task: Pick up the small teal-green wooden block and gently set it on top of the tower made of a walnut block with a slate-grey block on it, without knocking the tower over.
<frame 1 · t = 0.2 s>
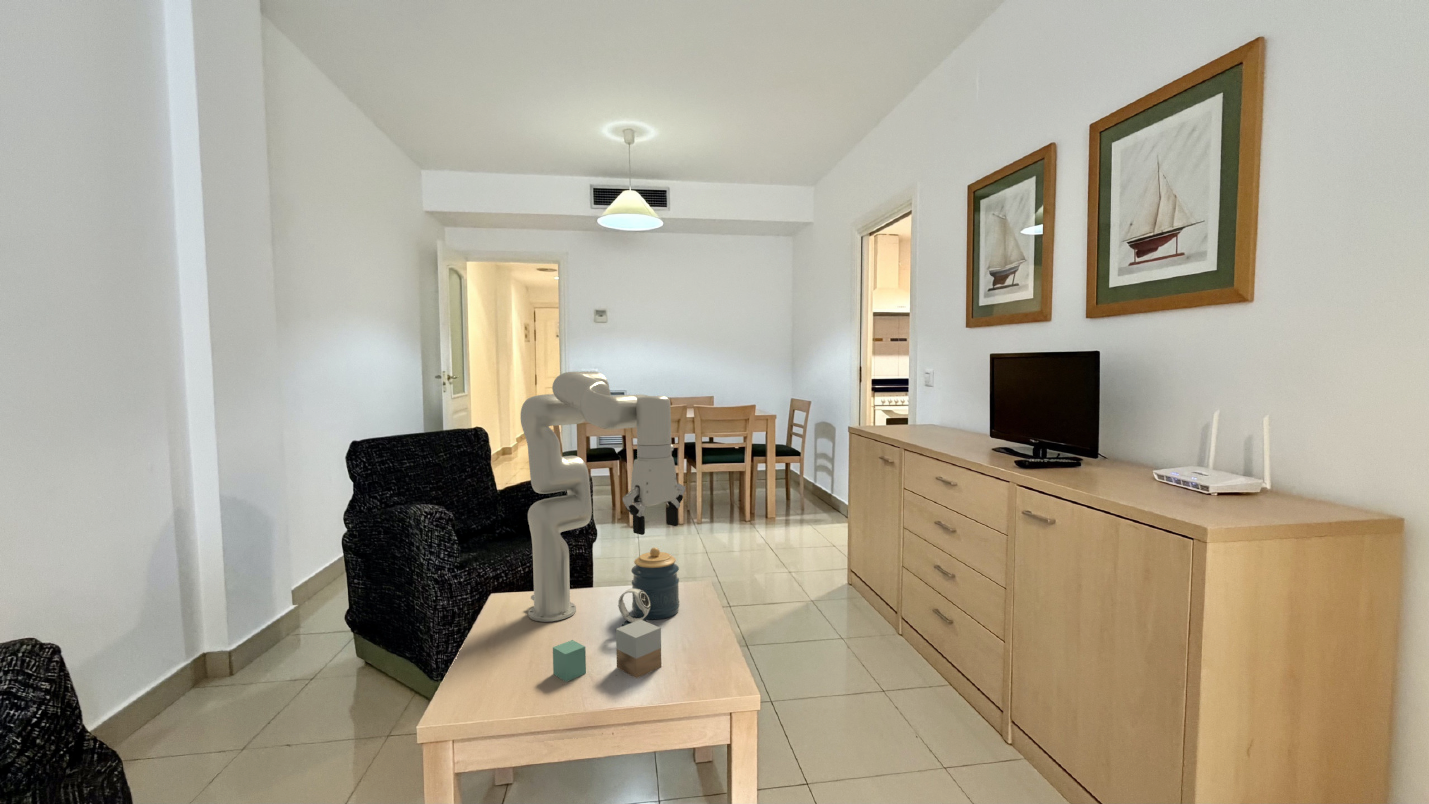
hand: (656, 529, 136), 31 cm above the table, tool pointing down, fingers open, 9 cm apart
canister: (656, 611, 169), on the table
watch: (635, 633, 155), on the table
top block: (638, 648, 136), point 4 cm above the table, touching base block
stack block: (569, 673, 134), on the table
base block: (639, 668, 136), on the table, touching top block
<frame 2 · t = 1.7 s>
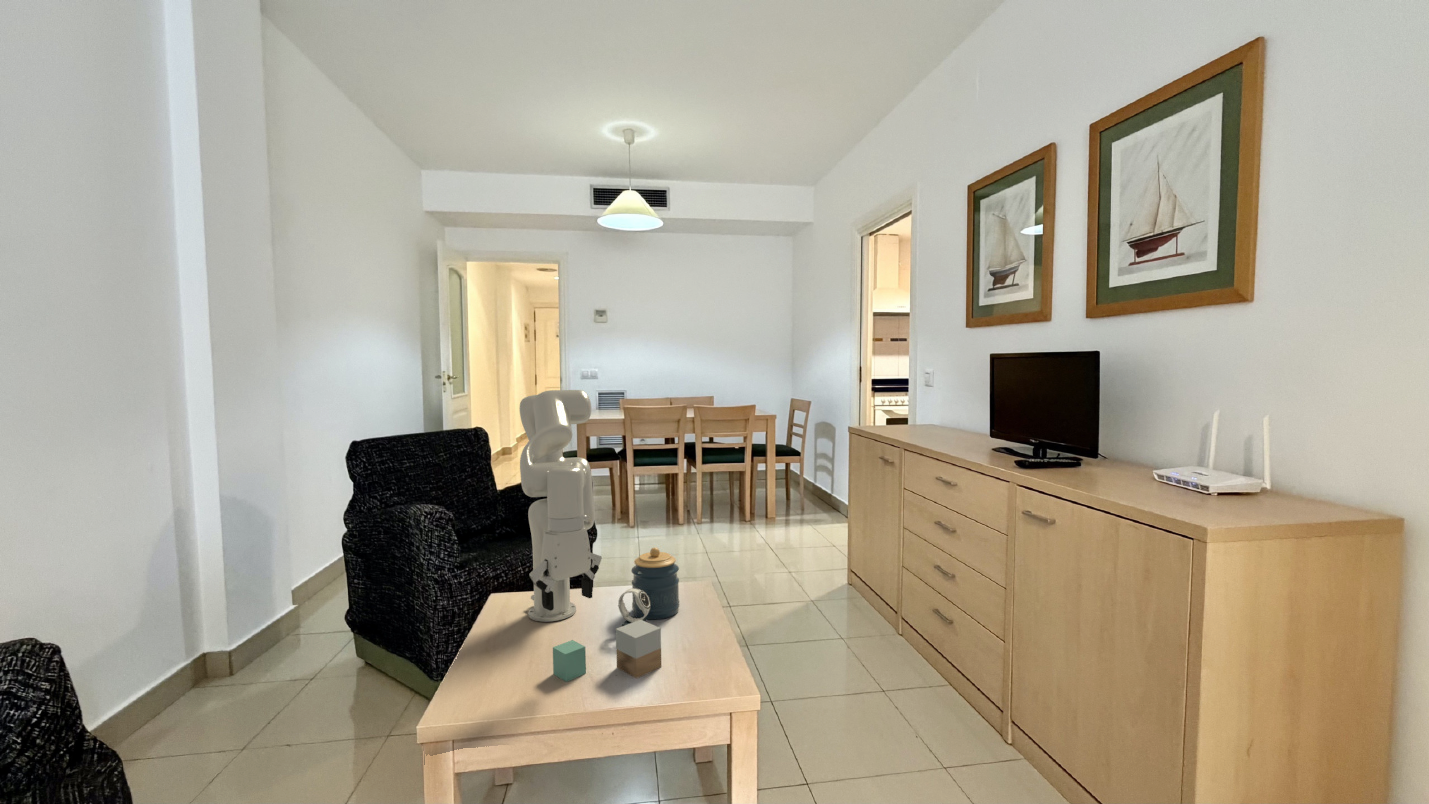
hand: (568, 602, 133), 16 cm above the table, tool pointing down, fingers open, 9 cm apart
nothing on the table moved.
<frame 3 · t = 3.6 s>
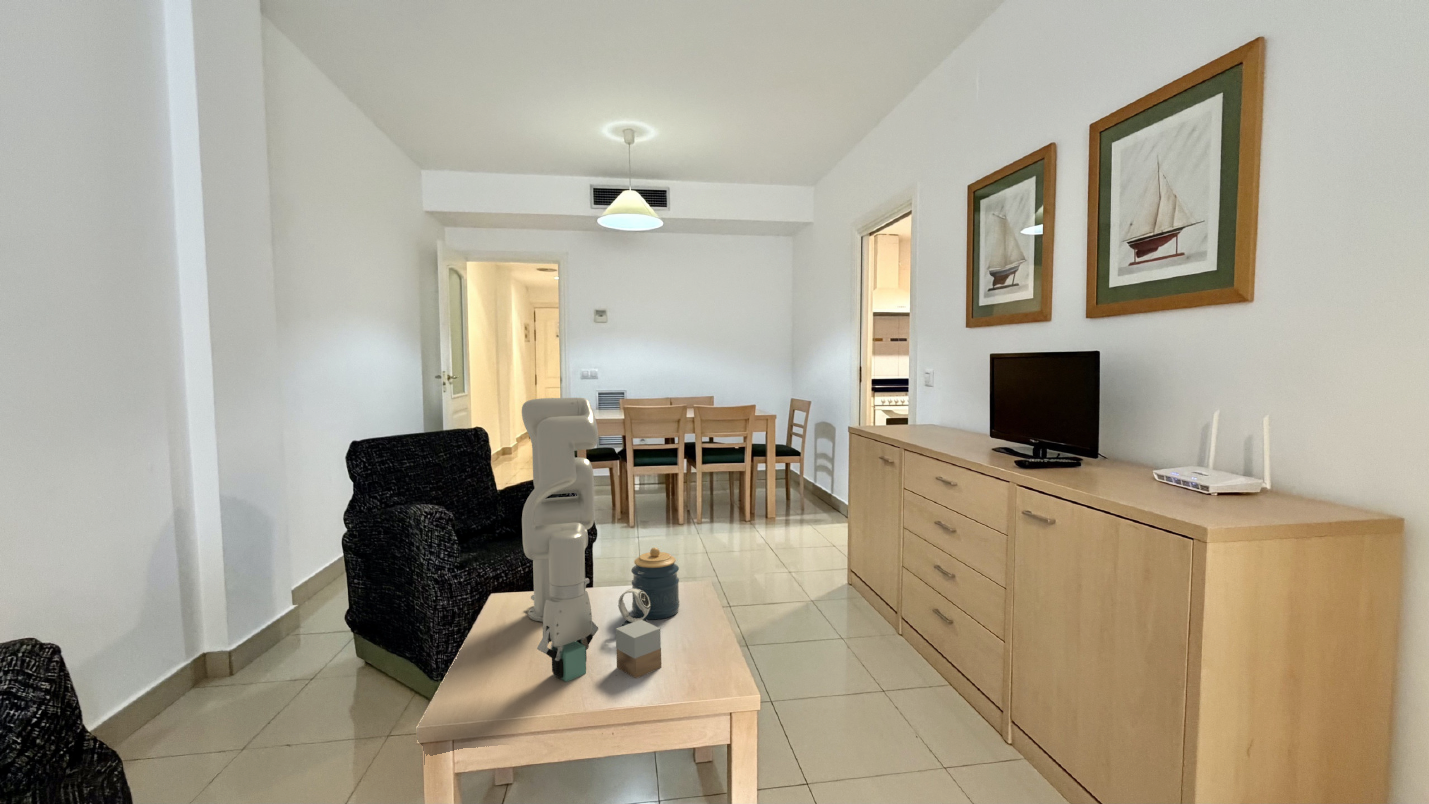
hand: (569, 670, 134), 1 cm above the table, tool pointing down, fingers closed on stack block, 5 cm apart
stack block: (569, 673, 134), on the table, touching gripper
everything else where it was.
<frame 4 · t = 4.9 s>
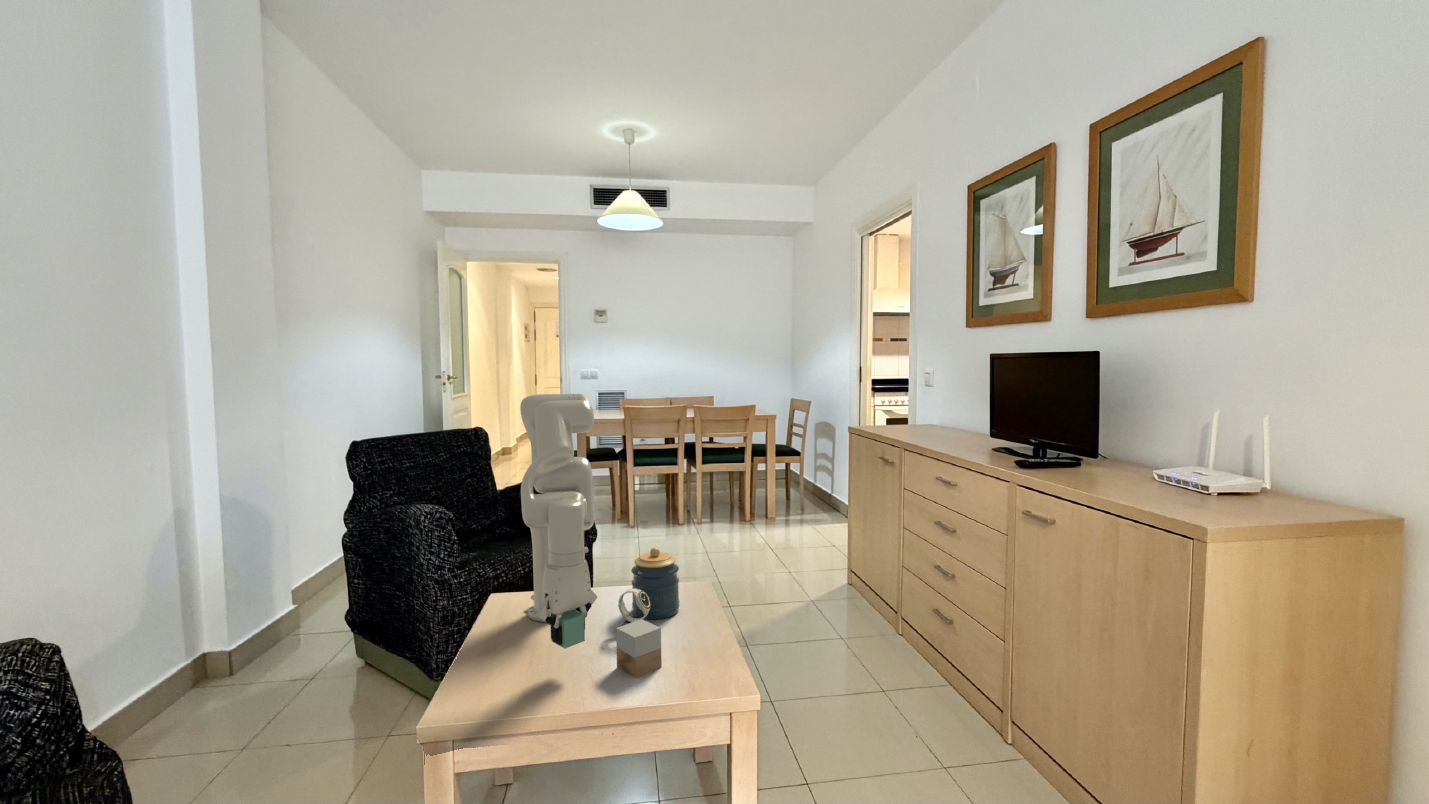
hand: (568, 637, 134), 8 cm above the table, tool pointing down, fingers closed on stack block, 5 cm apart
stack block: (568, 641, 134), point 7 cm above the table, touching gripper
everything else where it was.
when the fingers open (10 cm above the table, at t = 9.6 s): stack block stays where it is, resting on top block.
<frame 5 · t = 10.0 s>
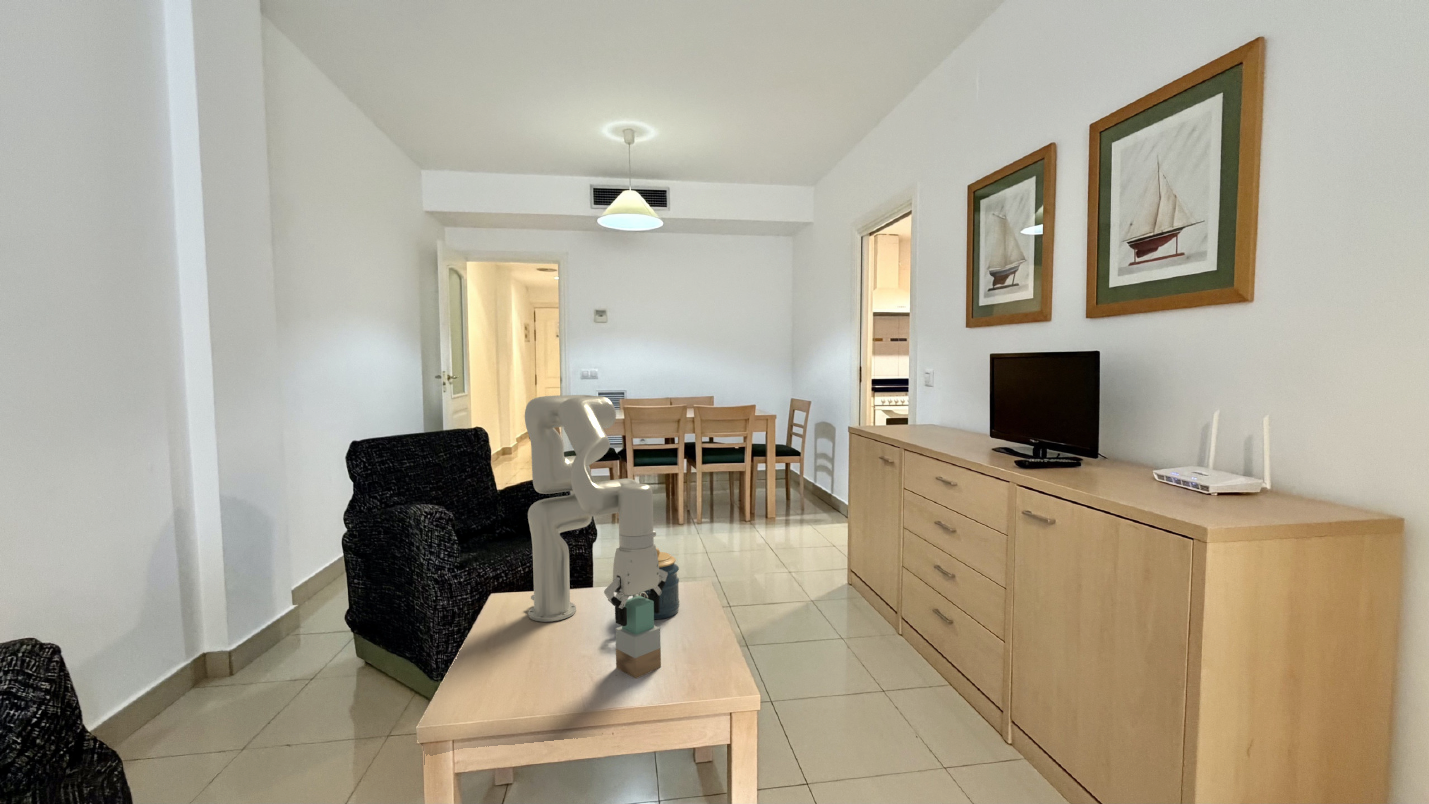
hand: (637, 617, 136), 11 cm above the table, tool pointing down, fingers open, 8 cm apart
top block: (638, 648, 136), point 4 cm above the table, touching base block, stack block
stack block: (638, 628, 136), point 9 cm above the table, touching top block
everything else where it was.
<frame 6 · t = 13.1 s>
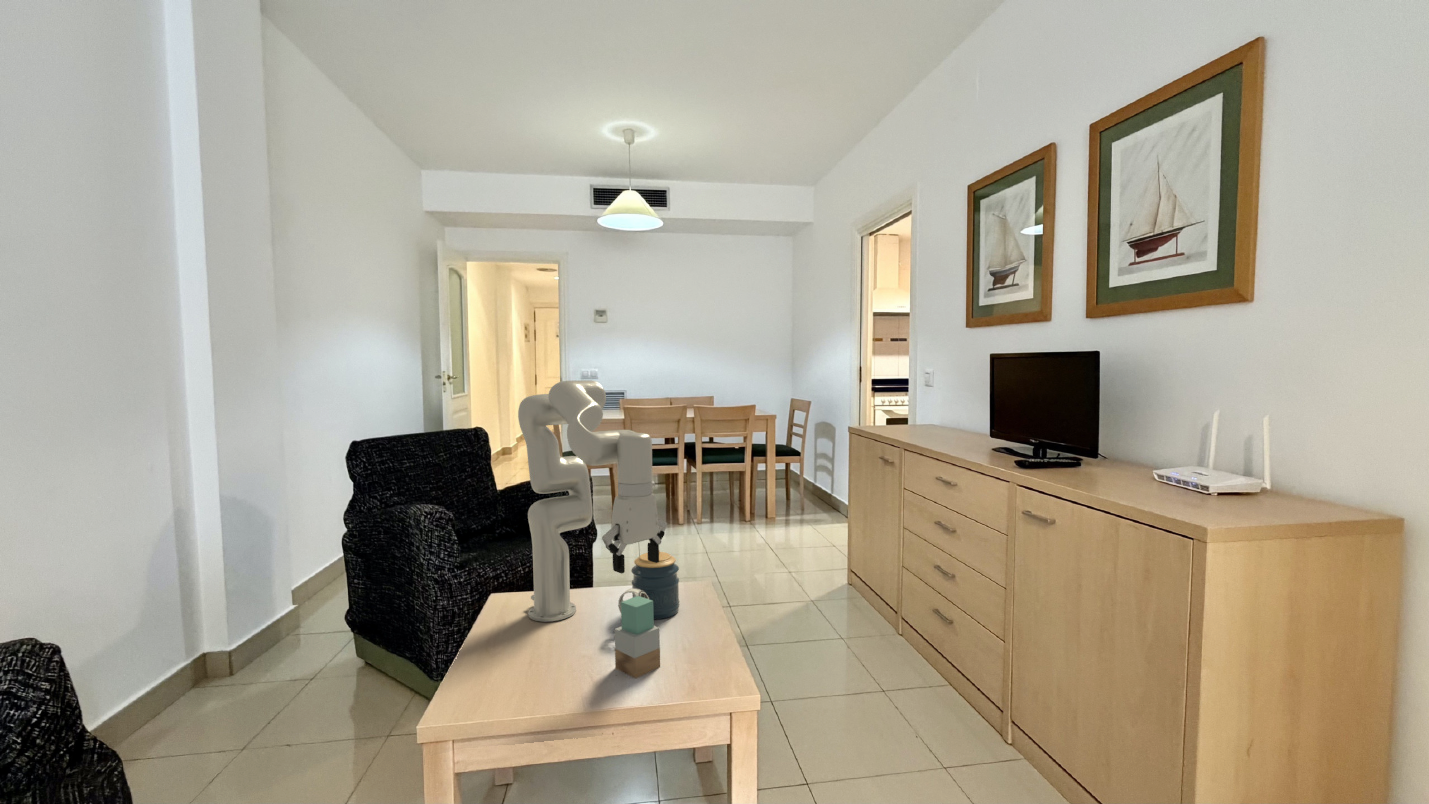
hand: (636, 566, 135), 23 cm above the table, tool pointing down, fingers open, 9 cm apart
nothing on the table moved.
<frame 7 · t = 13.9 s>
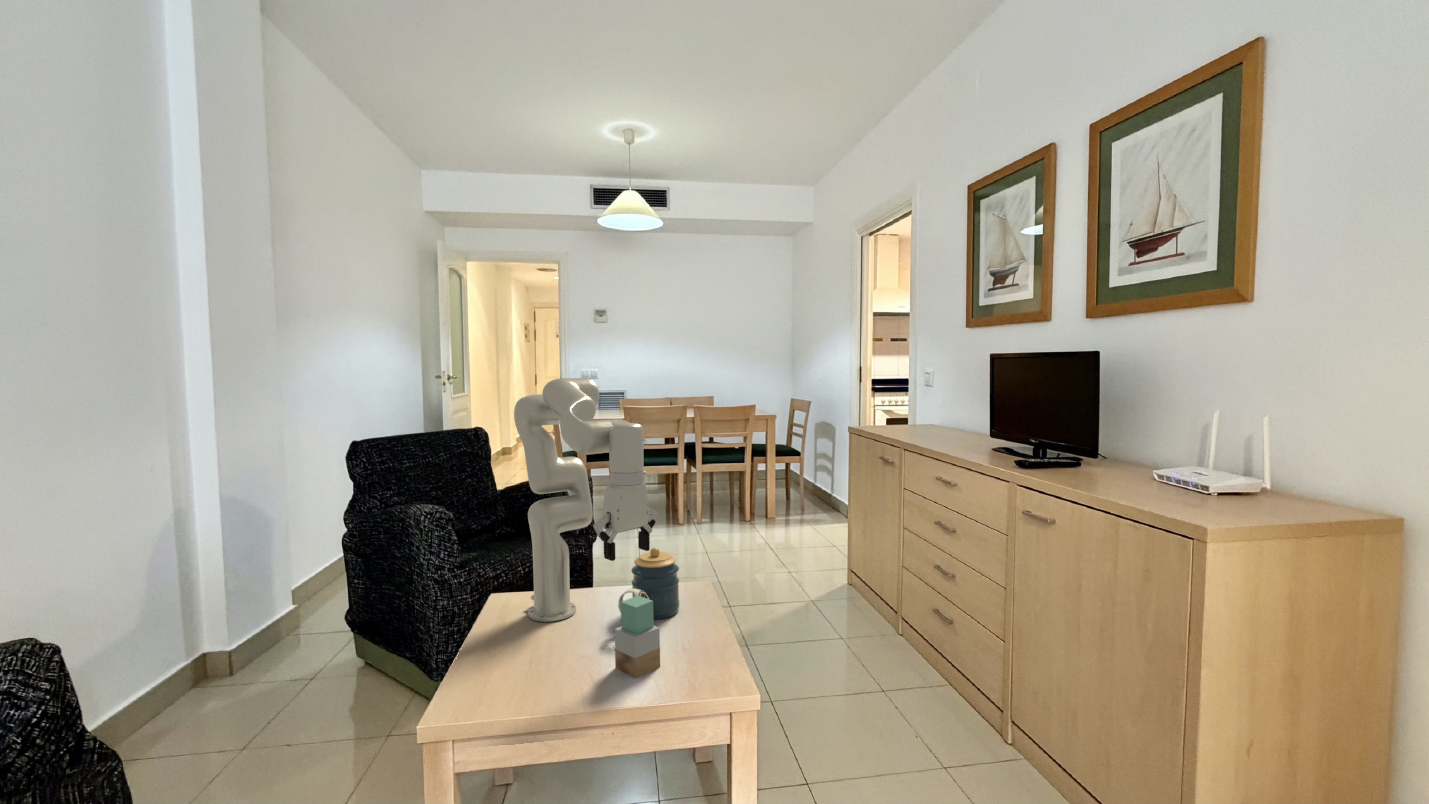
hand: (627, 554, 137), 25 cm above the table, tool pointing down, fingers open, 9 cm apart
top block: (637, 648, 136), point 4 cm above the table, touching base block
stack block: (637, 628, 136), point 9 cm above the table
everything else where it was.
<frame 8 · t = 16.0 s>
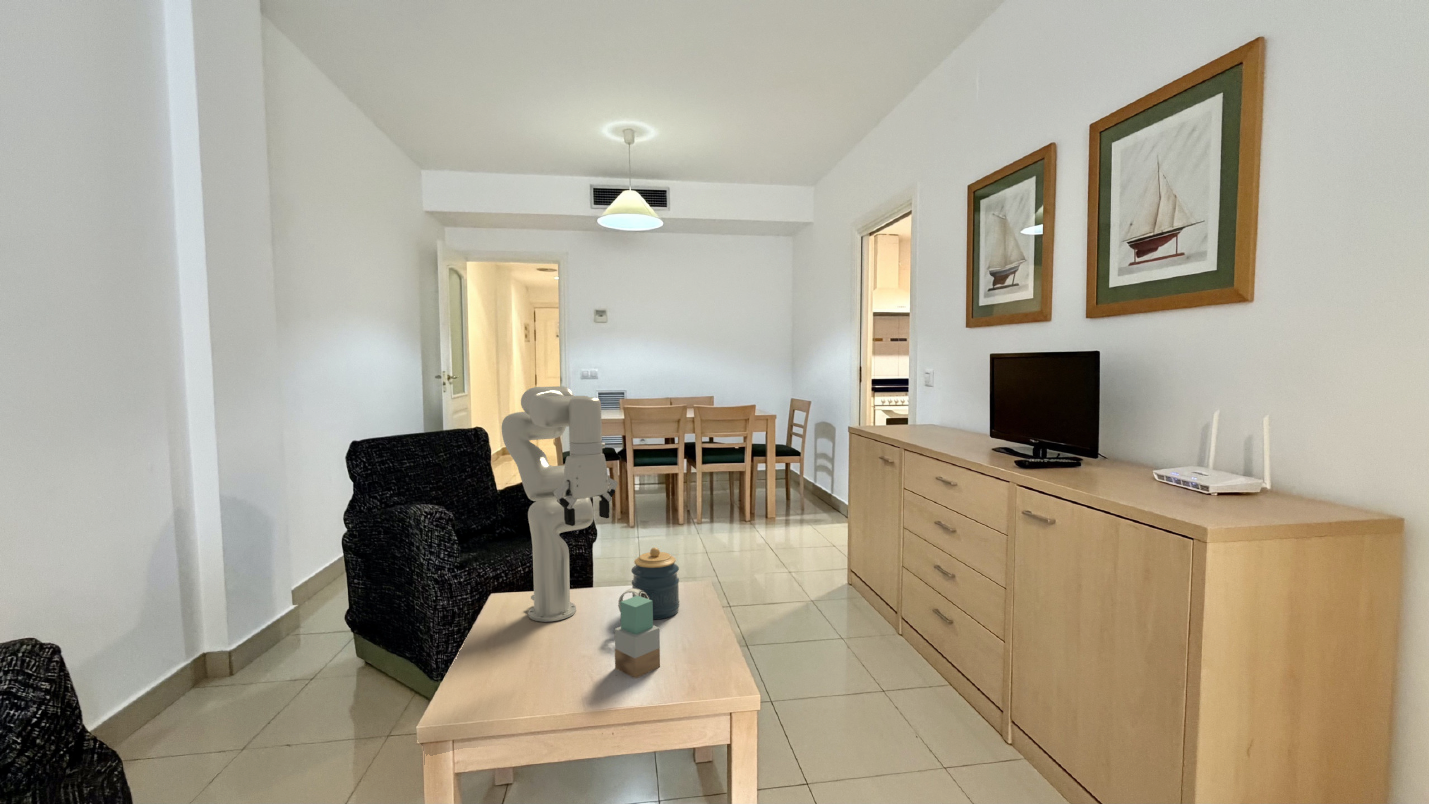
hand: (587, 521, 146), 30 cm above the table, tool pointing down, fingers open, 9 cm apart
top block: (637, 648, 136), point 4 cm above the table, touching base block, stack block
stack block: (637, 627, 136), point 9 cm above the table, touching top block
everything else where it was.
at the end: stack block 0.1 cm off-centre on the top block, point 4.5 cm above the top block's base; top block tilted 0°; base block moved 0.3 cm from its start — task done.
